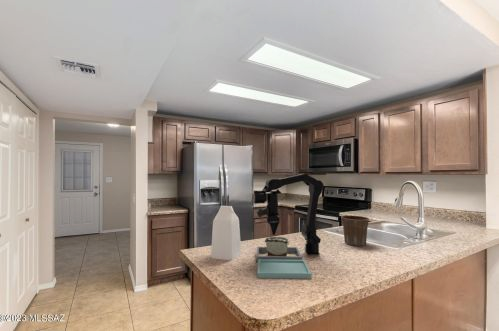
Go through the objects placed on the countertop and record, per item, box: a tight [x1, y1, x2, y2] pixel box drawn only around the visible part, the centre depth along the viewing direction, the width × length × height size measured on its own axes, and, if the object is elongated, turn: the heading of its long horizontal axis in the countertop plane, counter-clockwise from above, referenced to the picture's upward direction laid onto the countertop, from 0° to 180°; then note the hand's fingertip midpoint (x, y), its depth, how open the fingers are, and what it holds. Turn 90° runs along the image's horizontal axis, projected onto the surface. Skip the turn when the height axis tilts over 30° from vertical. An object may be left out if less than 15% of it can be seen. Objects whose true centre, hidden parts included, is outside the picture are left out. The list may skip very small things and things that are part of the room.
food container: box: [264, 236, 290, 256], centre depth 131 cm, size 12×6×10 cm, turn 71°
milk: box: [210, 205, 242, 261], centre depth 134 cm, size 12×12×26 cm
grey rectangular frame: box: [255, 246, 303, 264], centre depth 131 cm, size 22×17×3 cm
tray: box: [256, 259, 312, 280], centre depth 113 cm, size 22×17×2 cm
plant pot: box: [340, 214, 370, 247], centre depth 156 cm, size 16×16×16 cm
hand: (273, 232), depth 133 cm, fingers open, 9 cm apart
